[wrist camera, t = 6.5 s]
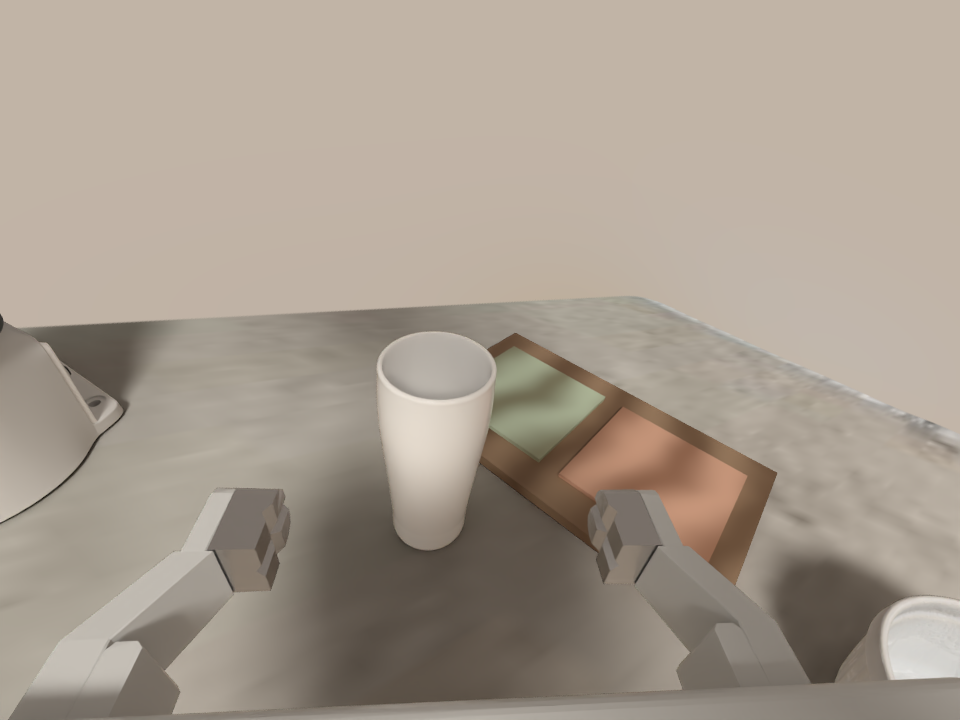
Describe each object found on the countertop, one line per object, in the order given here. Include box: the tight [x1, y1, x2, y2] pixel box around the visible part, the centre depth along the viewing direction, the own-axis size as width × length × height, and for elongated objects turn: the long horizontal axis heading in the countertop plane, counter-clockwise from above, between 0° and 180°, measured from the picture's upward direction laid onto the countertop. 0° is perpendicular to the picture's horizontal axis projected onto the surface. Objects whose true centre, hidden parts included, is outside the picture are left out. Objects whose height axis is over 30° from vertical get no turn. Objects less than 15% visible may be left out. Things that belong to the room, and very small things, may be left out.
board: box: [479, 333, 777, 585], centre depth 41 cm, size 30×18×1 cm, turn 49°
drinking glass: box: [376, 331, 497, 551], centre depth 28 cm, size 7×7×15 cm
